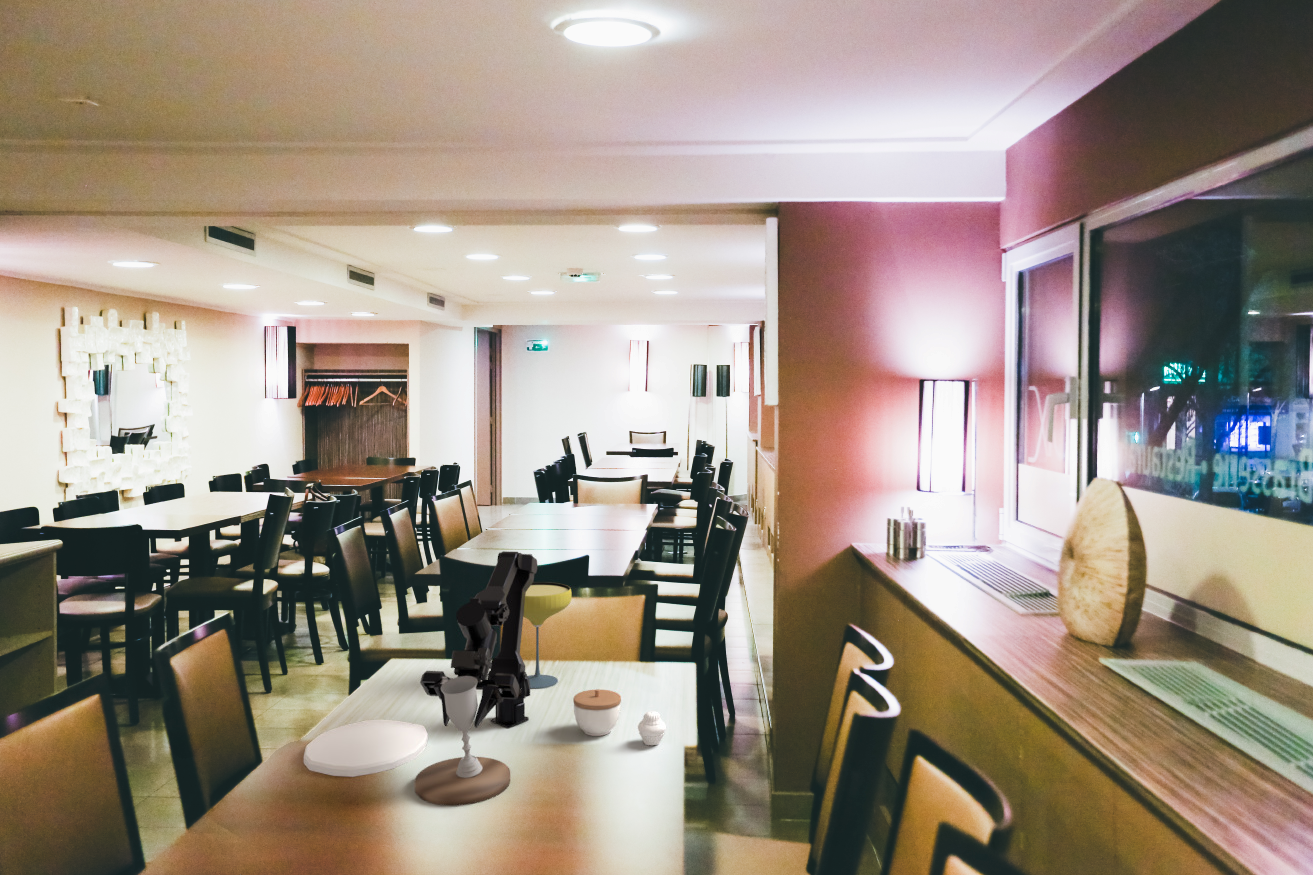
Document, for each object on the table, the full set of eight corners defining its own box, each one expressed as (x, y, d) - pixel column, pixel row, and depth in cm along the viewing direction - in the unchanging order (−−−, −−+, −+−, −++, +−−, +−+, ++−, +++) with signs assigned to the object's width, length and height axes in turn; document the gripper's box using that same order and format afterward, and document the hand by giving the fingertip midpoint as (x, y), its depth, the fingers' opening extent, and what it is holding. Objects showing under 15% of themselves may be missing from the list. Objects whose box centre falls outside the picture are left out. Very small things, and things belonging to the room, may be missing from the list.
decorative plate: (358, 705, 194) (449, 720, 185) (358, 723, 194) (449, 738, 185) (274, 746, 170) (374, 764, 162) (275, 766, 170) (375, 786, 162)
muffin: (669, 739, 184) (669, 708, 184) (660, 750, 178) (660, 717, 178) (643, 735, 186) (643, 704, 186) (633, 746, 180) (633, 714, 180)
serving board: (395, 787, 160) (395, 779, 160) (468, 756, 175) (468, 749, 174) (456, 814, 149) (456, 806, 149) (529, 779, 164) (529, 771, 164)
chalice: (467, 756, 168) (457, 673, 165) (494, 763, 165) (485, 678, 162) (443, 776, 162) (432, 690, 159) (471, 783, 159) (461, 696, 156)
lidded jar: (614, 742, 183) (614, 699, 182) (567, 737, 185) (567, 696, 184) (625, 724, 193) (625, 683, 193) (581, 720, 195) (581, 680, 195)
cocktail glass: (567, 693, 214) (567, 596, 213) (496, 693, 214) (496, 596, 213) (575, 671, 232) (575, 582, 231) (510, 671, 232) (509, 581, 231)
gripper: (423, 630, 166) (401, 704, 155) (515, 633, 164) (499, 708, 153) (438, 658, 174) (417, 730, 163) (525, 661, 172) (511, 735, 161)
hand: (460, 725), depth 160 cm, fingers closed on chalice, 6 cm apart
